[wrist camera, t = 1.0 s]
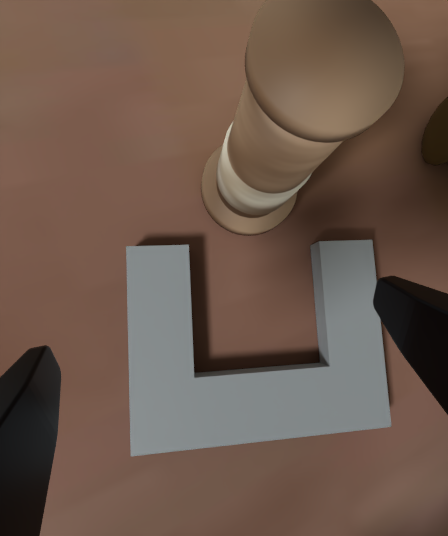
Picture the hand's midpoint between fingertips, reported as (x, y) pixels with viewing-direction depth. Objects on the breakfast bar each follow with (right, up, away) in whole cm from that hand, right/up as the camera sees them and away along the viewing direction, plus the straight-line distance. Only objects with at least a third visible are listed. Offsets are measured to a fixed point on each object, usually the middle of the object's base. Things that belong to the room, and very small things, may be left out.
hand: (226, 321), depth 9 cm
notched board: (+2, -3, +13) cm, 14 cm away
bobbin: (+2, +7, +14) cm, 16 cm away
